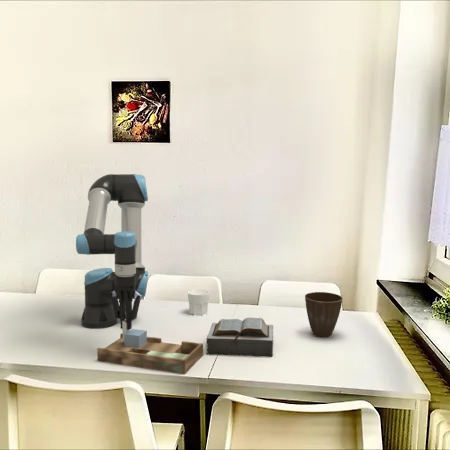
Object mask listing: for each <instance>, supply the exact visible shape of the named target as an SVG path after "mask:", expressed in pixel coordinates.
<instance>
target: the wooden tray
mask: <svg viewBox="0 0 450 450" xmlns="http://www.w3.org/2000/svg"><path fill="white" fill-rule="evenodd" d="M119 337H120V338H118V339H116V340H115V341H114V342H112V343H111V344H109V345H107V346H106V347H104V348H103V347H97V356H96V357H97V362H103V363H107V364H114V365H115V364H116V365H120V366H121V365H122V366H129V367H134V368H135V367H136V368H142V369H149V370H157V371H162V372H170V373H176V374H184V375H186V374H187V373H188V372H189V371H190V370H191V369H192V367H194V365H196V363H197V362H199V360H200V359H201V358H202V357H203V356H204V343H202V342H194V341H193V342H192V341H186V340H185V341H184V340H182V341H181V344H179V343H177V344H176V343H171V342H162V338H161V337H155V336H154V337H152V336H147V343H145V344H144V345H143V346H141V347H140V348H135V347H128V346H124V339H123V333H122V332H121V333H120V335H119Z"/></svg>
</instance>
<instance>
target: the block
mask: <svg viewBox="0 0 450 450" xmlns="http://www.w3.org/2000/svg"><path fill="white" fill-rule="evenodd" d="M147 333H148V331H147V330H143V329H135V328H131V329H130V331H128V332H126V333H125V334H124V346H128V347H135V348H140V347H141V346H143V345H144V344H145V343H147V337H148V334H147Z"/></svg>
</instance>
